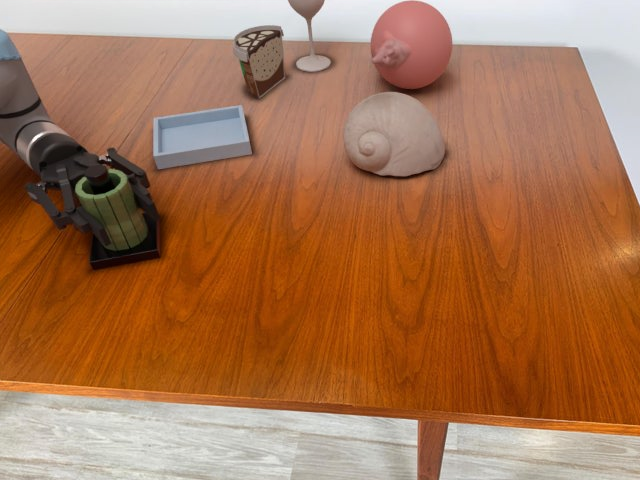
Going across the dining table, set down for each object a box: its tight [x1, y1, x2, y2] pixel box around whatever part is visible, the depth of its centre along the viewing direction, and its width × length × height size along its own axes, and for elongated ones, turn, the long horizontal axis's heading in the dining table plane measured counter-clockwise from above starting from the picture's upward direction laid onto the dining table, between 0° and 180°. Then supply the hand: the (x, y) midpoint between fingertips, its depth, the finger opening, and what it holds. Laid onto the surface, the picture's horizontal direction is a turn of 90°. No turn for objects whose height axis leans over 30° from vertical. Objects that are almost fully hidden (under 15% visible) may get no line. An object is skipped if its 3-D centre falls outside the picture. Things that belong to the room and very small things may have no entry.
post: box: [84, 164, 161, 271], centre depth 79 cm, size 9×9×12 cm
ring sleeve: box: [75, 168, 148, 251], centre depth 79 cm, size 6×6×9 cm
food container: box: [232, 24, 286, 100], centre depth 112 cm, size 12×6×10 cm, turn 154°
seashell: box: [342, 91, 446, 177], centre depth 95 cm, size 15×14×15 cm
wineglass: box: [287, 0, 332, 73], centre depth 114 cm, size 8×8×21 cm
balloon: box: [370, 0, 453, 90], centre depth 108 cm, size 15×20×15 cm
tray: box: [152, 104, 253, 170], centre depth 101 cm, size 16×13×3 cm
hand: (130, 223), depth 76 cm, fingers closed on ring sleeve, 6 cm apart
